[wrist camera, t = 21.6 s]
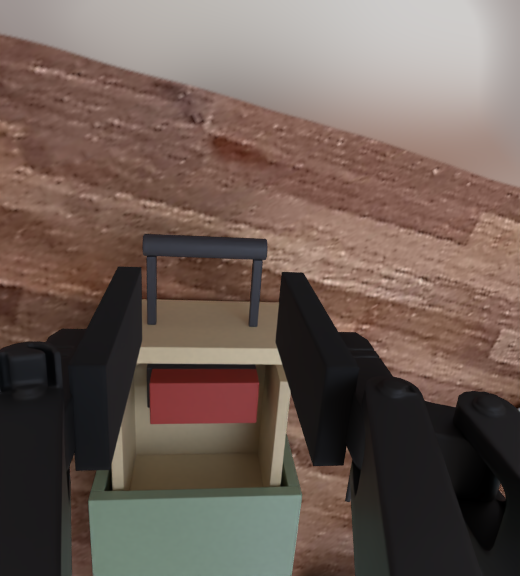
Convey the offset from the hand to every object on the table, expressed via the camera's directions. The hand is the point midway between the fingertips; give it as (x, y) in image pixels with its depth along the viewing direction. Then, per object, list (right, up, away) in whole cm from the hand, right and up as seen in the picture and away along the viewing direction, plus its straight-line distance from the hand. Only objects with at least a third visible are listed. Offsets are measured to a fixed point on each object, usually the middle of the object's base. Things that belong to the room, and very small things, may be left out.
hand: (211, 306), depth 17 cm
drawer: (-3, -4, +23) cm, 23 cm away
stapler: (-3, -6, +22) cm, 23 cm away
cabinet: (-4, -18, +29) cm, 34 cm away
